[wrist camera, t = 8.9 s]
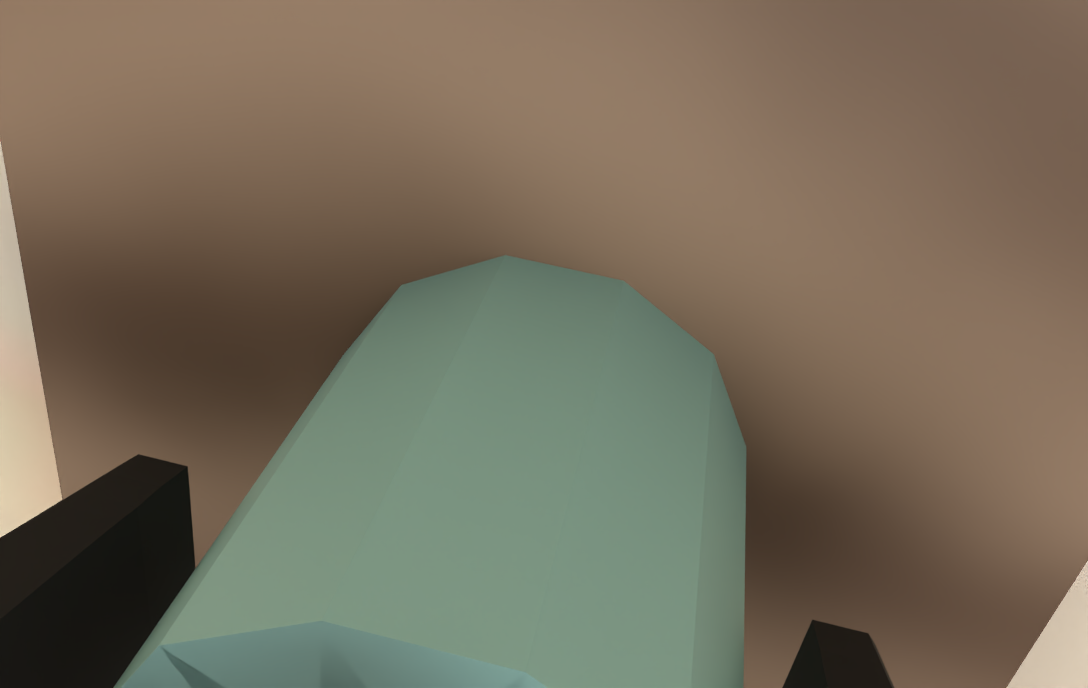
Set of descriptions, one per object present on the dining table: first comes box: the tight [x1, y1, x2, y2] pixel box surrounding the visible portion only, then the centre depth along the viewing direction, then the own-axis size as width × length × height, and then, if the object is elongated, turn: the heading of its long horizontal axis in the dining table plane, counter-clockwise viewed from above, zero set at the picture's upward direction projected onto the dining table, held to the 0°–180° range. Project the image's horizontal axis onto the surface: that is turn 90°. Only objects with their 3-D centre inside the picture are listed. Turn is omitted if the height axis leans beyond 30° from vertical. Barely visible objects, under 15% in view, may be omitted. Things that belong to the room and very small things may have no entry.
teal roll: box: [113, 255, 746, 688], centre depth 11 cm, size 6×6×6 cm
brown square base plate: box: [0, 0, 1088, 688], centre depth 11 cm, size 15×15×6 cm
